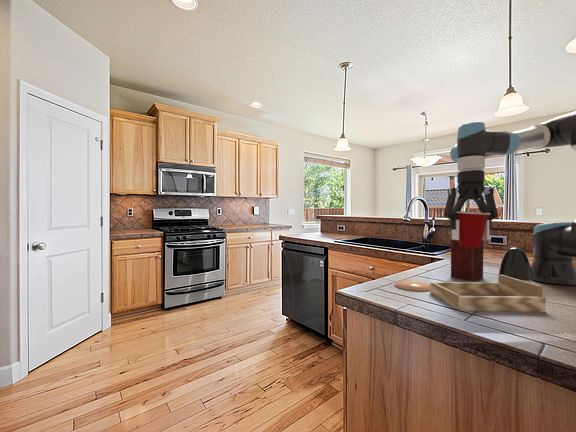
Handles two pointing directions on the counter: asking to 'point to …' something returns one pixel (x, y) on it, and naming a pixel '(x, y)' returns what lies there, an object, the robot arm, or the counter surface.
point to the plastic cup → (471, 228)
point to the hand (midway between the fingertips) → (470, 239)
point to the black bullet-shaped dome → (516, 265)
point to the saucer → (413, 285)
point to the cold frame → (510, 290)
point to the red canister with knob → (466, 262)
